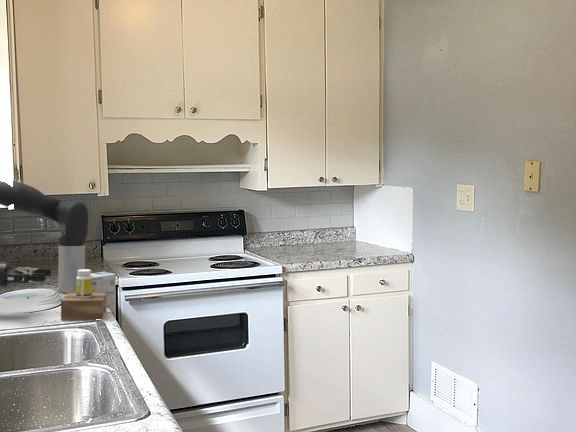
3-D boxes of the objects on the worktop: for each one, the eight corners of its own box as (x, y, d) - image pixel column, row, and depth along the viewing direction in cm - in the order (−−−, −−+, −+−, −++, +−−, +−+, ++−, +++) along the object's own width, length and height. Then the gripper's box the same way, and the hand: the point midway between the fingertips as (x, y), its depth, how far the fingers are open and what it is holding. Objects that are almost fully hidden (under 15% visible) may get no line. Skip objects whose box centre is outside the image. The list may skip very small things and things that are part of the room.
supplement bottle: (93, 295, 206) (94, 269, 206) (89, 298, 202) (90, 271, 201) (78, 295, 206) (78, 268, 206) (74, 298, 202) (74, 271, 201)
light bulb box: (104, 302, 225) (104, 271, 224) (116, 305, 221) (116, 273, 220) (76, 306, 217) (77, 274, 216) (88, 310, 213) (89, 277, 212)
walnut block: (67, 311, 210) (67, 292, 209) (106, 311, 212) (106, 292, 211) (60, 320, 198) (61, 300, 197) (101, 320, 200) (102, 300, 199)
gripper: (-15, 266, 192) (43, 266, 195) (-1, 258, 206) (52, 259, 209) (-15, 291, 192) (43, 291, 195) (-1, 282, 206) (52, 282, 209)
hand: (48, 274), depth 202 cm, fingers open, 8 cm apart
